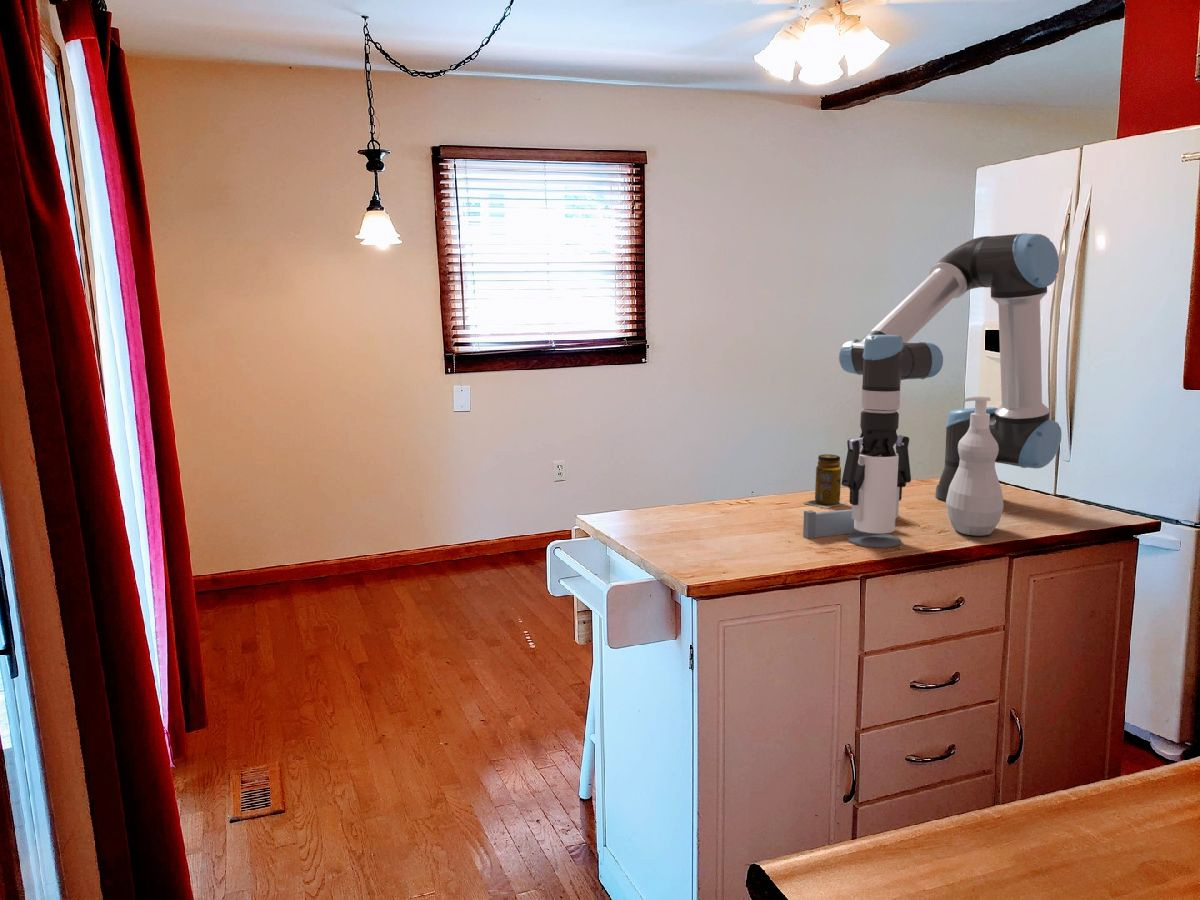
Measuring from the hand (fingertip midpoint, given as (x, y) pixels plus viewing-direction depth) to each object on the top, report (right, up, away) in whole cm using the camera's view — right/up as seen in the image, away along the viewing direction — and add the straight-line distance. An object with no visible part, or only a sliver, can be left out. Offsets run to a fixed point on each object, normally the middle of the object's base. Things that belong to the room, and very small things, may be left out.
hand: (874, 517), depth 187 cm
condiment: (-2, +1, +35) cm, 35 cm away
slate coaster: (0, -5, +1) cm, 5 cm away
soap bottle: (+24, -4, +8) cm, 25 cm away
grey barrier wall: (-3, -4, +8) cm, 9 cm away
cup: (0, -2, 0) cm, 2 cm away
